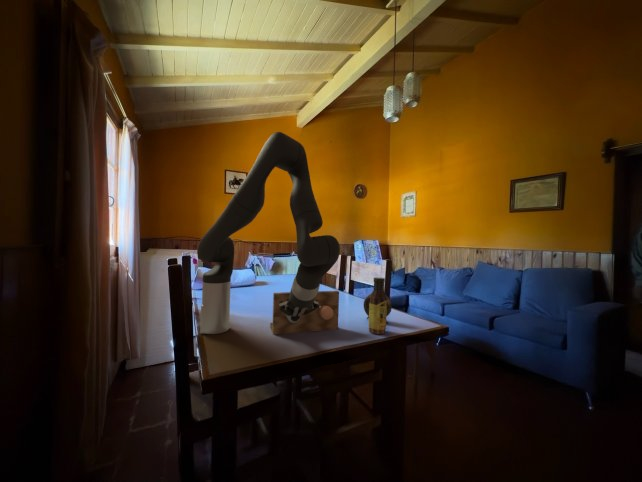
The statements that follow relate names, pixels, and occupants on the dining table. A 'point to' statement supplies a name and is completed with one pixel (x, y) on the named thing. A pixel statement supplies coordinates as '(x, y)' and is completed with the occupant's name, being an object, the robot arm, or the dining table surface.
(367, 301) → the alarm clock
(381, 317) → the sauce bottle
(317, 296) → the walnut panel
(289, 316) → the slate button
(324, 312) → the terracotta button
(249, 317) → the dining table surface
